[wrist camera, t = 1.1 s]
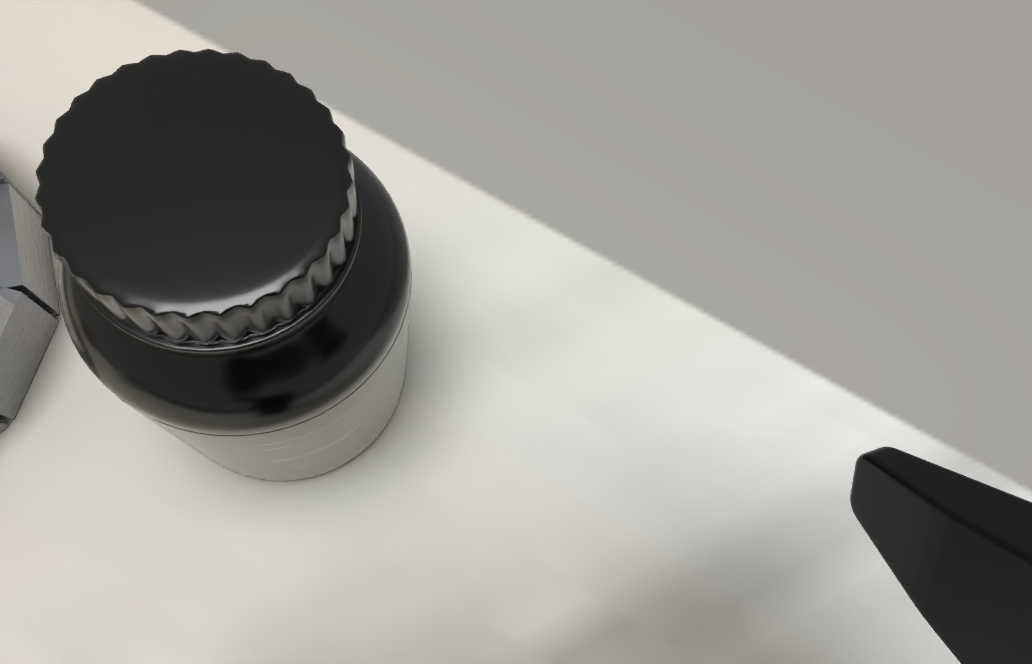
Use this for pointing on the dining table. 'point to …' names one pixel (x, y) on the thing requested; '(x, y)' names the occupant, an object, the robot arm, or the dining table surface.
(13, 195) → the grey segmented ring
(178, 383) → the supplement bottle
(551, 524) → the dining table surface
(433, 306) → the dining table surface
